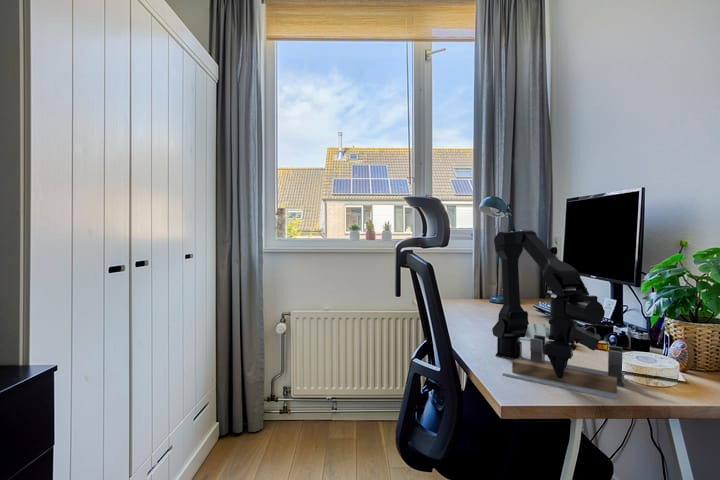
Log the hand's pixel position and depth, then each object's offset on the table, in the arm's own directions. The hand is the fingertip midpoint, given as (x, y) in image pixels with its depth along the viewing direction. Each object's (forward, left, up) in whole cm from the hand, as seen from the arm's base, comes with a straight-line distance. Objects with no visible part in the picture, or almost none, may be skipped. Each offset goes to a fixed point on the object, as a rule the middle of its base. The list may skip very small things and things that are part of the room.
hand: (561, 375), depth 100 cm
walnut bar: (0, 0, -1) cm, 1 cm away
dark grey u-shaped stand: (+2, +10, -2) cm, 10 cm away
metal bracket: (-15, +44, -3) cm, 47 cm away
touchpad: (+19, +22, -3) cm, 29 cm away
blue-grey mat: (-1, 0, -2) cm, 2 cm away
